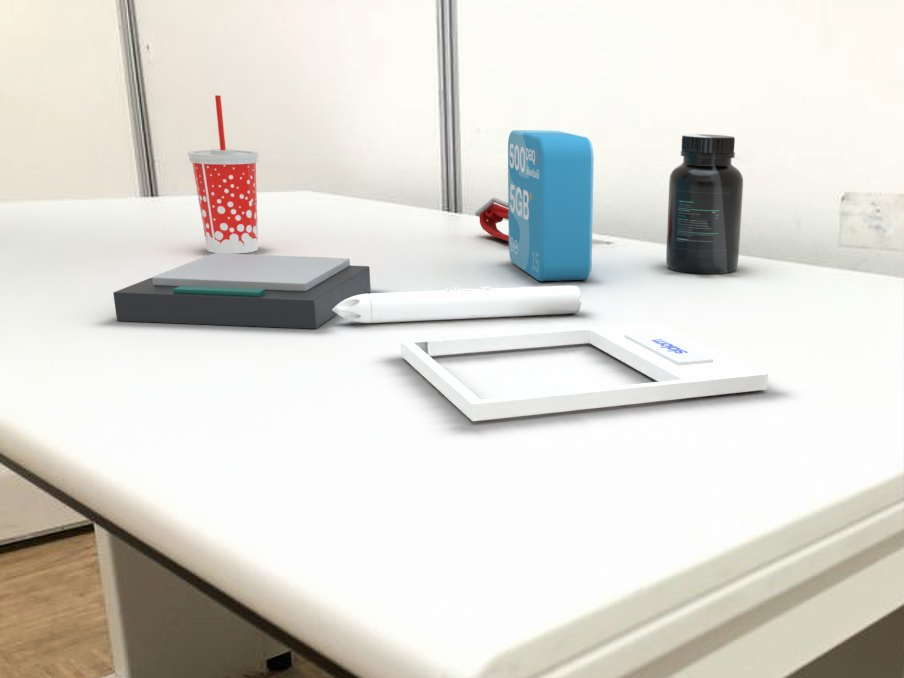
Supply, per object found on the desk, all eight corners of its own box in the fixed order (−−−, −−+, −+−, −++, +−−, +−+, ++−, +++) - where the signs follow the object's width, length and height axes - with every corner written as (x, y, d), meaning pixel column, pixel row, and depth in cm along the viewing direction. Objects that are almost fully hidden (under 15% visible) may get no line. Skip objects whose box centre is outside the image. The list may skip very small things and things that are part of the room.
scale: (116, 320, 77) (111, 283, 76) (200, 284, 90) (196, 251, 89) (316, 329, 76) (313, 291, 75) (370, 290, 89) (369, 258, 88)
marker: (334, 328, 77) (332, 294, 76) (331, 321, 78) (329, 288, 78) (581, 315, 83) (581, 284, 82) (572, 310, 85) (572, 279, 84)
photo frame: (768, 371, 64) (472, 400, 57) (767, 389, 65) (472, 421, 57) (656, 319, 77) (400, 338, 69) (655, 335, 77) (400, 355, 70)
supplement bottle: (684, 259, 109) (690, 132, 105) (749, 267, 106) (757, 136, 102) (653, 269, 103) (657, 135, 99) (719, 277, 100) (727, 139, 96)
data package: (508, 261, 105) (507, 128, 101) (553, 260, 106) (554, 129, 102) (541, 284, 94) (542, 137, 90) (592, 282, 96) (594, 138, 92)
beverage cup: (279, 248, 107) (267, 96, 102) (234, 257, 102) (218, 97, 97) (231, 242, 110) (216, 93, 105) (184, 250, 104) (166, 94, 99)
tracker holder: (589, 226, 120) (585, 215, 111) (579, 266, 121) (573, 258, 111) (482, 196, 120) (468, 182, 110) (471, 236, 121) (457, 225, 111)
